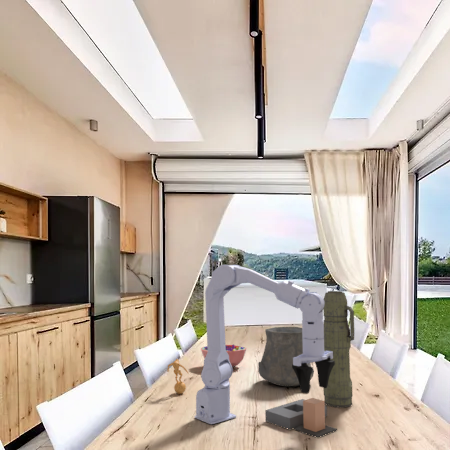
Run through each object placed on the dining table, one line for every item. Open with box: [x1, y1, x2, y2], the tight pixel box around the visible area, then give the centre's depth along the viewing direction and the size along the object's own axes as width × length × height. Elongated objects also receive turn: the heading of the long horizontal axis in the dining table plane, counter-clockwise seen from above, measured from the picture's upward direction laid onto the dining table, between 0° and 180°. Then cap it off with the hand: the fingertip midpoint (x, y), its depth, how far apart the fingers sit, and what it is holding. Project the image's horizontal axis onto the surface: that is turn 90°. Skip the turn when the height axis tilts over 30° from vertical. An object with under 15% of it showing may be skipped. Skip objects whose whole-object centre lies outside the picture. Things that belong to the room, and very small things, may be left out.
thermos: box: [319, 290, 355, 408], centre depth 144 cm, size 9×12×35 cm
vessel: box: [257, 326, 315, 387], centre depth 167 cm, size 22×22×20 cm
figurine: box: [166, 358, 189, 395], centre depth 154 cm, size 8×6×12 cm
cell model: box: [200, 344, 247, 368], centre depth 194 cm, size 17×20×11 cm
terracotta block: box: [303, 397, 326, 432], centre depth 120 cm, size 4×4×7 cm
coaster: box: [293, 424, 338, 438], centre depth 119 cm, size 8×8×1 cm
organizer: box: [264, 398, 328, 430], centre depth 128 cm, size 16×9×3 cm, turn 130°
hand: (314, 389), depth 120 cm, fingers open, 7 cm apart
